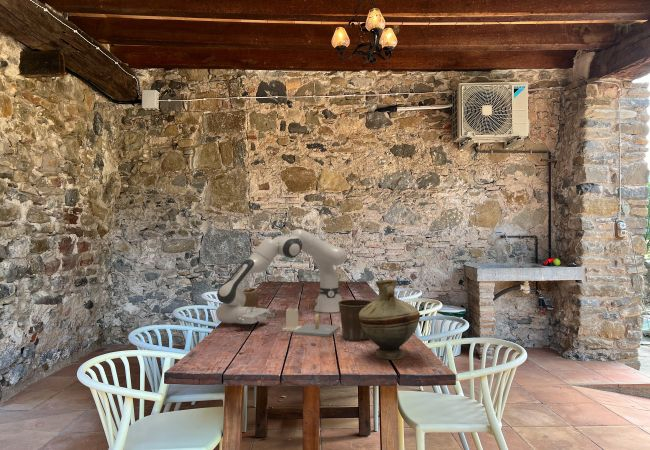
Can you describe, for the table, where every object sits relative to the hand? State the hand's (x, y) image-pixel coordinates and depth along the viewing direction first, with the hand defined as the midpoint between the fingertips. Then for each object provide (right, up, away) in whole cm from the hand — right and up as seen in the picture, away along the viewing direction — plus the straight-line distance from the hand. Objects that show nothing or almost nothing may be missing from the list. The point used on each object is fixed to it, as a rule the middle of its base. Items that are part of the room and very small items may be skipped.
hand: (270, 316), depth 218 cm
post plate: (+24, -5, -8) cm, 26 cm away
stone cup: (-15, -6, +37) cm, 41 cm away
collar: (+11, -5, -4) cm, 13 cm away
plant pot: (+42, -5, -21) cm, 47 cm away
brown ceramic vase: (+53, -5, -49) cm, 73 cm away
